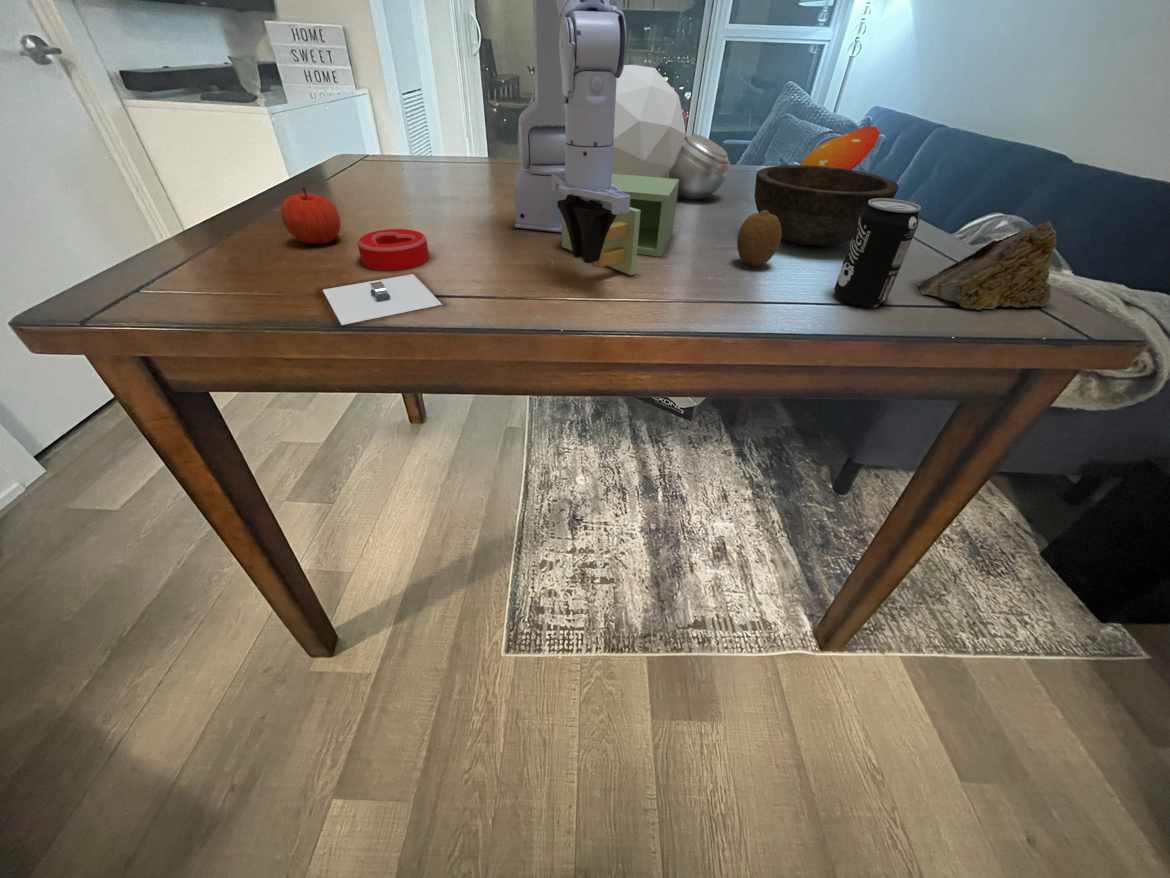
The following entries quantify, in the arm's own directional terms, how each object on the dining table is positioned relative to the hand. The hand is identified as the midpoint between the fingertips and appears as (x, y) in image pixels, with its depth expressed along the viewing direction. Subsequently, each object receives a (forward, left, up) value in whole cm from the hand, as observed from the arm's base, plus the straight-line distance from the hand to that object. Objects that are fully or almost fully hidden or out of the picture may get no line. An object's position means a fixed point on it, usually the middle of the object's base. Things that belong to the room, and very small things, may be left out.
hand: (586, 258), depth 68 cm
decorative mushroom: (+35, +57, -3) cm, 67 cm away
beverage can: (+37, +6, -3) cm, 37 cm away
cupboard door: (-2, +7, -3) cm, 8 cm away
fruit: (+23, +15, -3) cm, 27 cm away
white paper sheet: (-23, -14, -3) cm, 27 cm away
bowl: (+32, +31, -3) cm, 45 cm away
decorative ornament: (-29, -1, -3) cm, 30 cm away
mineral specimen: (+54, +14, -3) cm, 56 cm away
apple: (-45, +2, -3) cm, 46 cm away
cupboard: (+1, +20, -3) cm, 21 cm away
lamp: (-1, +53, -3) cm, 53 cm away
